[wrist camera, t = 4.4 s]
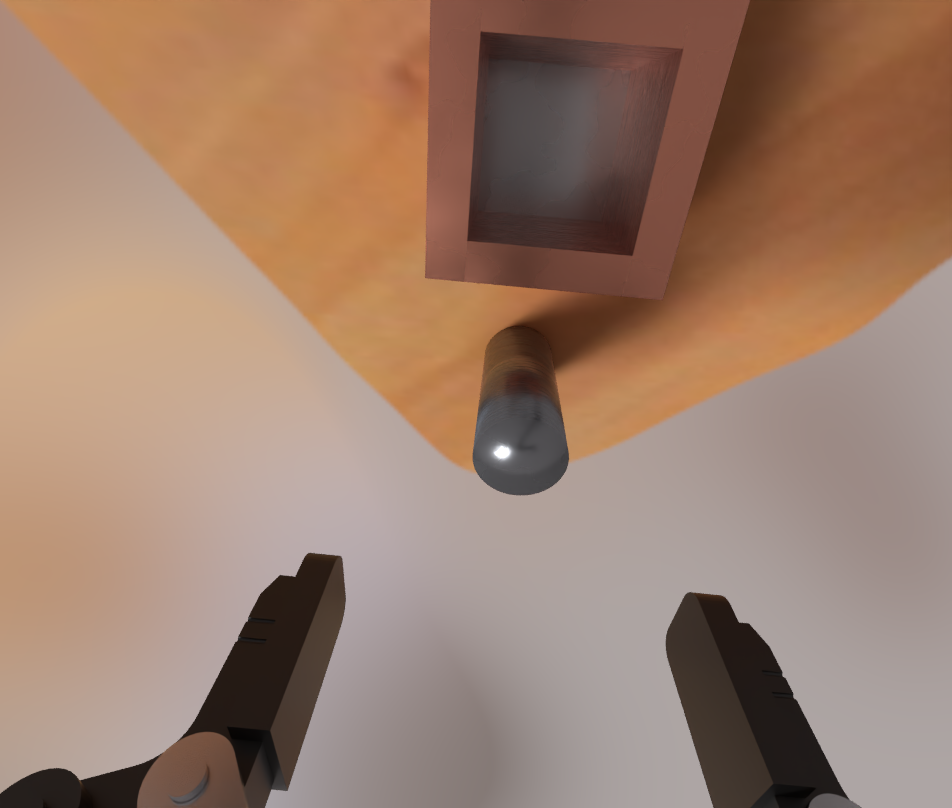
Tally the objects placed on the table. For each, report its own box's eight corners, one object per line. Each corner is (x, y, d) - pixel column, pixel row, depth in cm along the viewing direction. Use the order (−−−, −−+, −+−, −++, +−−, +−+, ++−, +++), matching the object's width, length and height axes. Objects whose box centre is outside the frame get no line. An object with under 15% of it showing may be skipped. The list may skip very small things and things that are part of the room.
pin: (556, 329, 22) (576, 423, 15) (546, 389, 23) (560, 499, 16) (487, 323, 22) (476, 414, 15) (482, 383, 23) (469, 490, 16)
